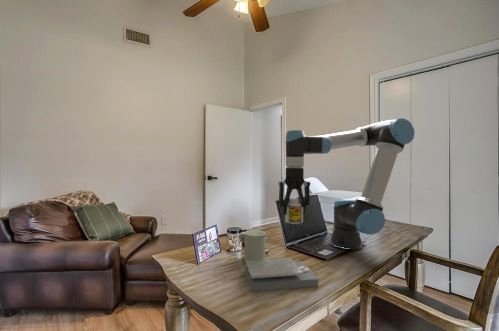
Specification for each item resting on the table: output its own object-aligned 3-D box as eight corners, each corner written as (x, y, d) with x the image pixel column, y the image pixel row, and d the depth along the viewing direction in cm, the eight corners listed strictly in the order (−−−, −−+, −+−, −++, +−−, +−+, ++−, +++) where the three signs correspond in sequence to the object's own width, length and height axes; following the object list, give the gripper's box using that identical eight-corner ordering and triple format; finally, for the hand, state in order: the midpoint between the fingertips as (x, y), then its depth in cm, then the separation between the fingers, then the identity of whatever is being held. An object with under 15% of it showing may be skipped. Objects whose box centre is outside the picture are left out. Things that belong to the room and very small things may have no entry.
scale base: (301, 267, 100) (301, 259, 100) (318, 286, 85) (318, 277, 85) (244, 271, 96) (244, 263, 96) (251, 291, 81) (251, 282, 81)
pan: (290, 259, 98) (290, 257, 98) (302, 274, 85) (302, 272, 85) (245, 262, 95) (245, 260, 95) (251, 278, 82) (251, 275, 82)
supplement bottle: (287, 224, 104) (287, 199, 104) (287, 220, 110) (287, 197, 109) (301, 224, 103) (301, 199, 103) (300, 221, 109) (300, 197, 109)
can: (263, 264, 103) (264, 235, 102) (241, 262, 104) (242, 233, 104) (266, 256, 112) (267, 229, 111) (246, 254, 114) (246, 228, 113)
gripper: (311, 167, 111) (311, 219, 112) (270, 167, 108) (270, 220, 109) (319, 167, 104) (318, 223, 104) (275, 167, 101) (275, 225, 101)
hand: (293, 221), depth 106 cm, fingers closed on supplement bottle, 6 cm apart
